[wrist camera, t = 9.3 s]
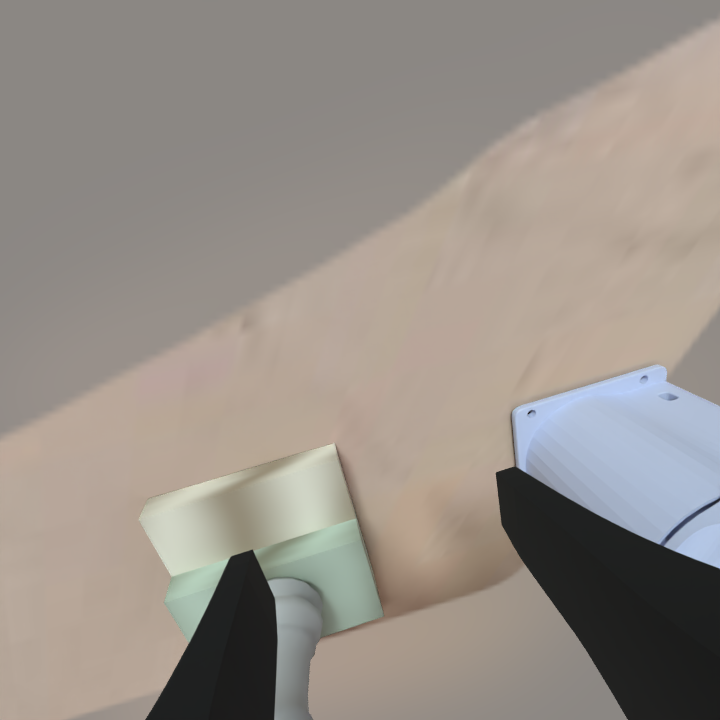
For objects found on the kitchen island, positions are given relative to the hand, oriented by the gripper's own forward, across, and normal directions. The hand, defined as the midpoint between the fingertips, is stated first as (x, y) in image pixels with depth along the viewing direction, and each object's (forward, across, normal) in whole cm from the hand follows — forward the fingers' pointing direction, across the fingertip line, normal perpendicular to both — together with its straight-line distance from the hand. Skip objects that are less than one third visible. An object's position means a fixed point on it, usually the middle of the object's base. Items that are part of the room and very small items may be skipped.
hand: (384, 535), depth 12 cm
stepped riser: (+10, +6, +8) cm, 14 cm away
